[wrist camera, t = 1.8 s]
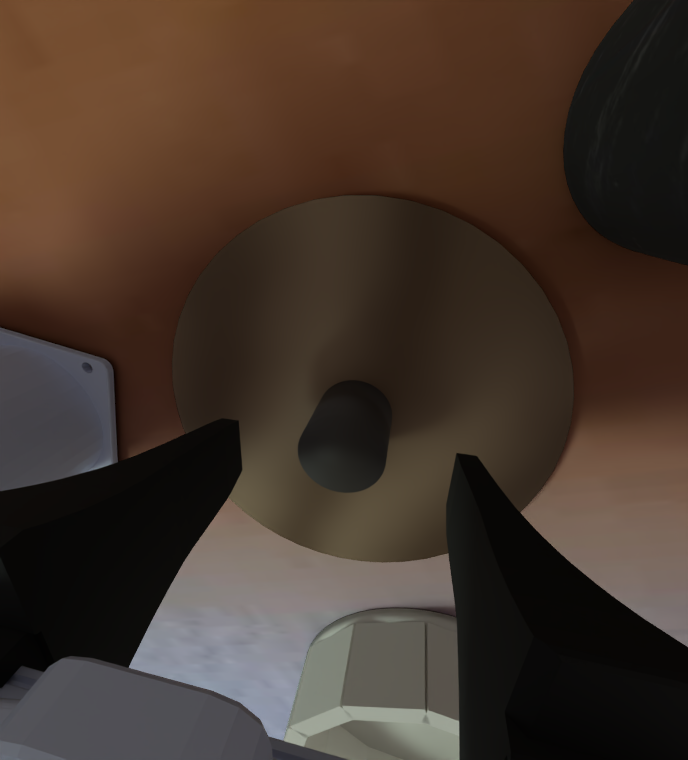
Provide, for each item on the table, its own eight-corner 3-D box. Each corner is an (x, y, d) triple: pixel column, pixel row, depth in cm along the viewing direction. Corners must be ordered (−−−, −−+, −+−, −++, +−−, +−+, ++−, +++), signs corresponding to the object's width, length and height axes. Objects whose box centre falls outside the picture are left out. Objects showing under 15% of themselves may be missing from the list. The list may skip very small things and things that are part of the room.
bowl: (289, 710, 26) (264, 802, 22) (330, 575, 20) (307, 667, 16) (492, 784, 25) (505, 896, 21) (600, 665, 19) (649, 788, 15)
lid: (178, 494, 20) (127, 552, 17) (189, 150, 13) (109, 126, 10) (477, 587, 19) (491, 670, 15) (654, 257, 12) (748, 272, 9)
